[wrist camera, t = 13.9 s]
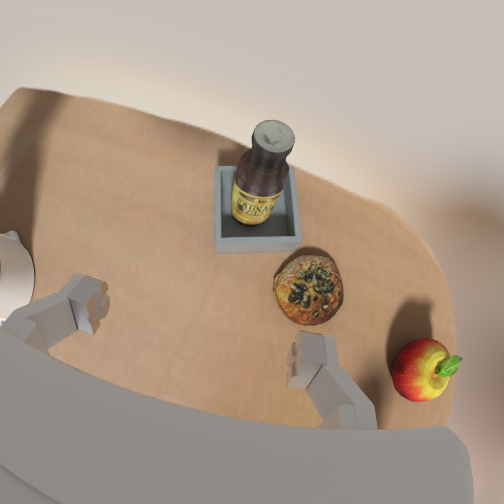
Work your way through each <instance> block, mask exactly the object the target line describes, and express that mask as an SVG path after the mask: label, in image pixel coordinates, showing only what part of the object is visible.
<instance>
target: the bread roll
mask: <svg viewBox="0 0 504 504" xmlns="http://www.w3.org/2000/svg"><path fill="white" fill-rule="evenodd" d="M274 283H275V285H274V288H275V290H274V297H275V298H276V300H277V302H278V305H279V308H280V309H281V310H282V311H283V313H284V314H285V316H286V317H287V318H288V319H290V320H292V321H293V322H294V323H296V324H301V325H312V326H313V325H318V324H322V323H324V322H326V321H328V320H330V319H331V318H332V317H333V316H334V315H335V314H336V312H337V311H338V309H339V308H340V306H341V305H342V303H343V296H344V295H343V283H342V280H341V277H340V273H339V270H338V268H337V267H336V265H335V264H334V263H333V262H332V261H331V259H329V258H327V257H323V256H317V255H303V256H300V257H297V258H295V259H294V260H293V261H291V262H289V263H288V265H286V266H285V268H283V270H282V272H281V273H280V274H278V275H277V276H276V278H275V281H274Z"/></svg>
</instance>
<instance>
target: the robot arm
mask: <svg viewBox="0 0 504 504" xmlns="http://www.w3.org/2000/svg"><path fill="white" fill-rule="evenodd" d="M33 288H34V267H33V263H32V259H31V257H30V255H29V253H28V251H27V250H26V248H25V247H24V246H23V245H22V244H21V242H20V239H19V236H18V233H17V232H15V231H9V232H7V233H4V234H0V504H474V487H473V478H472V470H471V464H470V459H469V454H468V450H467V447H466V445H465V444H464V442H463V441H462V440H461V439H460V438H459V437H458V436H457V435H456V434H455V432H453V430H451V429H450V428H449V427H448V426H446V425H436V426H426V427H416V428H402V429H378V427H377V421H376V414H375V408H374V405H373V403H372V402H371V401H370V400H369V399H368V397H367V396H366V395H365V394H364V393H363V391H362V390H361V389H360V388H359V387H358V385H357V384H356V383H355V382H354V381H353V379H352V378H351V377H350V376H349V375H348V373H347V372H346V371H345V370H344V369H343V367H339V362H338V356H337V349H336V343H335V338H334V336H330V335H324V334H317V333H311V332H306V331H300V330H299V331H298V332H297V334H296V336H295V342H294V343H292V344H291V346H290V349H289V352H288V358H287V365H288V366H289V370H288V372H287V386H290V387H295V388H302V389H306V391H307V393H308V395H309V396H310V398H311V400H312V401H313V403H314V405H315V407H316V408H317V410H318V412H319V413H320V415H321V417H322V419H323V420H324V422H323V423H322V424H321V425H320V426H319V427H318V428H310V427H299V426H289V425H280V424H273V423H265V422H259V421H252V420H246V419H241V418H235V417H230V416H225V415H220V414H215V413H211V412H206V411H202V410H198V409H194V408H190V407H186V406H182V405H178V404H175V403H171V402H168V401H164V400H161V399H157V398H154V397H151V396H148V395H145V394H142V393H139V392H136V391H133V390H130V389H127V388H124V387H121V386H119V385H116V384H113V383H111V382H108V381H106V380H103V379H100V378H98V377H96V376H93V375H91V374H88V373H86V372H84V371H81V370H79V369H77V368H75V367H73V366H70V365H68V364H66V363H64V362H62V361H60V360H58V359H56V358H54V357H52V356H50V354H49V351H48V349H49V348H50V347H52V346H53V345H55V344H57V343H58V342H60V341H61V340H63V339H65V338H66V337H68V336H70V335H71V334H73V333H74V332H76V331H77V329H78V330H80V331H83V332H86V333H88V334H91V335H94V334H95V332H96V331H97V329H98V327H99V326H100V321H99V320H101V319H103V318H105V316H106V314H107V313H108V310H109V306H110V299H109V296H108V295H107V294H106V292H107V291H108V285H107V283H106V282H104V281H101V280H98V279H95V278H92V277H90V276H86V275H83V274H81V273H76V274H74V275H73V277H72V278H71V279H70V280H69V281H68V282H67V283H66V285H65V286H64V287H63V288H62V289H61V290H60V292H59V293H58V294H55V293H54V294H52V295H49V296H47V297H44V298H42V299H39V300H37V301H34V302H32V303H30V304H29V302H30V300H31V297H32V293H33Z"/></svg>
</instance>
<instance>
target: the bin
mask: <svg viewBox="0 0 504 504" xmlns="http://www.w3.org/2000/svg"><path fill="white" fill-rule="evenodd" d="M236 170H237V166H215V245H216V252H217V254H221V253H261V252H292V251H293V250H294V249H295V248H296V247H297V246H298V245H299V244H300V243H301V242H302V239H301V228H300V218H299V208H298V198H297V189H296V180H295V172H294V167H292V166H289V172H288V176H287V180H286V183H285V187H284V189H283V191H282V193H281V195H280V197H279V199H278V200H277V202H276V204H275V206H274V208H273V210H272V212H271V214H270V216H269V217H268V219H267V220H266V221H265V222H263V223H261V224H259V225H257V226H253V227H250V226H245V225H242V224H240V223H238V222H237V221H236V220H235V218H234V217H233V215H232V212H231V198H232V190H233V184H234V178H235V173H236Z"/></svg>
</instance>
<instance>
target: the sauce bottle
mask: <svg viewBox="0 0 504 504" xmlns="http://www.w3.org/2000/svg"><path fill="white" fill-rule="evenodd" d="M294 142H295V136H294V133H293V131H292V130H291V128H290V127H289V126H287V125H286V124H285V123H283V122H280V121H277V120H266V121H263V122H261V123H259V124H258V125H257V126H256V128H255V130H254V132H253V135H252V149H250V150H248V151H247V152H246V153H245V154H244V155H243V156H242V157H241V159H240V161H239V163H238V166H237V170H236V173H235V178H234V184H233V190H232V198H231V212H232V215H233V217H234V218H235V220H236V221H237V222H238V223H240V224H242V225H245V226H250V227H253V226H257V225H259V224H261V223H263V222H265V221H266V220H267V219H268V217H269V216H270V214H271V212H272V210H273V208H274V206H275V204H276V202H277V200H278V199H279V197H280V195H281V193H282V191H283V189H284V187H285V183H286V180H287V176H288V172H289V166H288V164H287V163H286V157H287V155H289V154H290V152H291V151H292V148H293V145H294Z"/></svg>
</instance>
